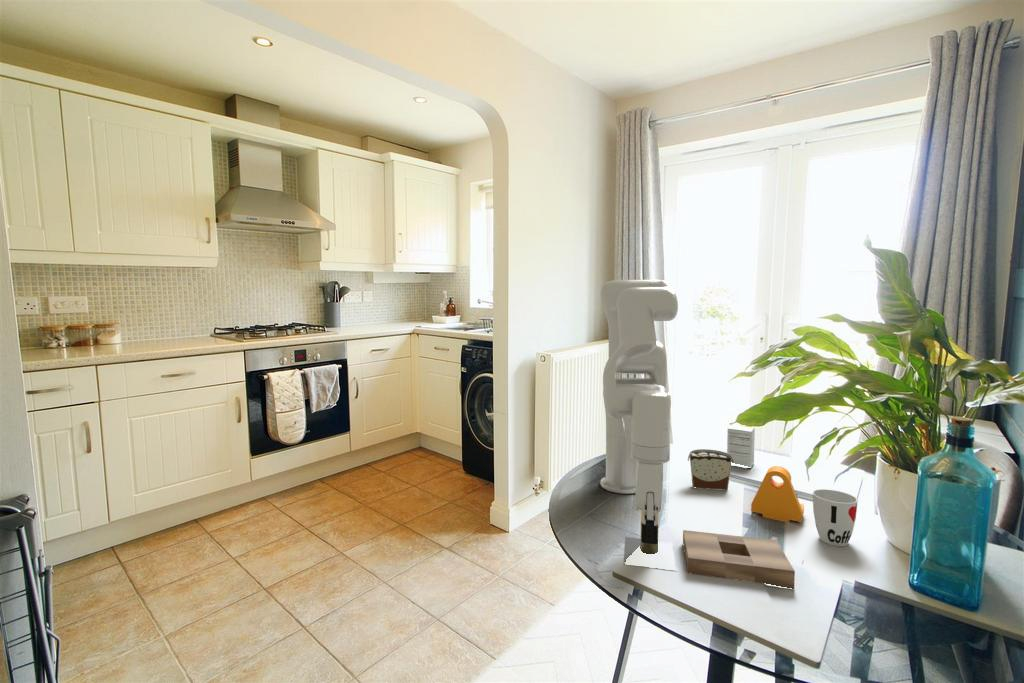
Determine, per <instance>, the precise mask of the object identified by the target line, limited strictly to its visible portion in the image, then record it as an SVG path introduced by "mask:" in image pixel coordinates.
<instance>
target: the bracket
mask: <svg viewBox="0 0 1024 683" xmlns="http://www.w3.org/2000/svg"><path fill="white" fill-rule="evenodd" d="M773 477H779V478H780V479H781V480H782V481H783V482H777V481H775V480H774V479H773ZM804 509H805V505H804V504H803V503H800V501H799V498H798V496H797V494H796V491H795V488H794V486H793V484H792V475H791V473H790V472H789V471H788V469H786V468H785V467H783V466H779V465H774V466H773V465H772V466H771V467H769V468H768V470H767V471H766V474H765V475H764V477H763V479H762V481H761V483H760V485H759V487H758V489H757V491H756V493H755V495H754V497H753V499H752V502H751V503H750V512H754V513H757V514H761V515H762V518H766V519H770V520H771V519H772V520H775V521H779V522H785V523H790V521H796V522H799V523H802V522H803V517H804V513H805V510H804Z"/></svg>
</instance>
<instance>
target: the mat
mask: <svg viewBox="0 0 1024 683" xmlns="http://www.w3.org/2000/svg"><path fill="white" fill-rule="evenodd" d="M624 539H625V542H624V555H623V556H624V557H623V563H624V562H626V559H627V558H628V557H629V556H630V555H632V553H633V552H634V551H635V550H636V549H637V548H638V547H639V546H640V545H641V538H638V537H629V536H625V538H624Z"/></svg>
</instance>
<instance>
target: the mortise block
mask: <svg viewBox="0 0 1024 683" xmlns="http://www.w3.org/2000/svg"><path fill="white" fill-rule="evenodd" d="M683 544H684V547H683V551H684V550H685V553H684V557H685V556H686V558H685V563H686V562H687V564H686V569H687V568H688V570H687V573H688V574H689V573H692V575H697V576H705V577H711V576H714V577H713V578H719V577H721V578H720V579H727V578H729V580H734V579H737V580H736V581H742V580H745V581H744V582H749V581H751V582H750V583H759V584H764V583H766V584H771V585H776V586H781V587H787V588H792V589H794V590H795V580H796V578H795V574H796V571H795V569H794V567H793V565H792V564H791V562H790V561H789V559H788V557H787V556H786V554H785V552H784V551H783V549H782V548H781V545H780V544H779V542H778V541H777V539H770V538H769V539H768V538H760V537H759V538H758V537H751V536H750V537H749V536H743V535H742V536H741V535H733V534H731V535H729V534H722V533H711V532H704V531H703V532H702V531H694V530H687V529H685V530H684V529H682V545H683Z"/></svg>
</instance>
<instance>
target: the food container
mask: <svg viewBox="0 0 1024 683" xmlns="http://www.w3.org/2000/svg"><path fill="white" fill-rule="evenodd" d="M687 461H688V462H690V472H691V473H690V474H691V482H692V483H691V484H692V488H693V487H696V488H709V489H708V490H713V489H722V490H721V491H729V490H728V489H729V484H730V483H729V482H730V475H731V470H732V466H731V462H733V463H734V461H733V458H732V455H730V454H728V453H727V452H726V451H723V450H717V449H716V450H715V449H707V448H706V449H705V448H704V449H703V448H702V449H700V448H699V449H693V450H691V451H690V452H689V453H688V457H687Z"/></svg>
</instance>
